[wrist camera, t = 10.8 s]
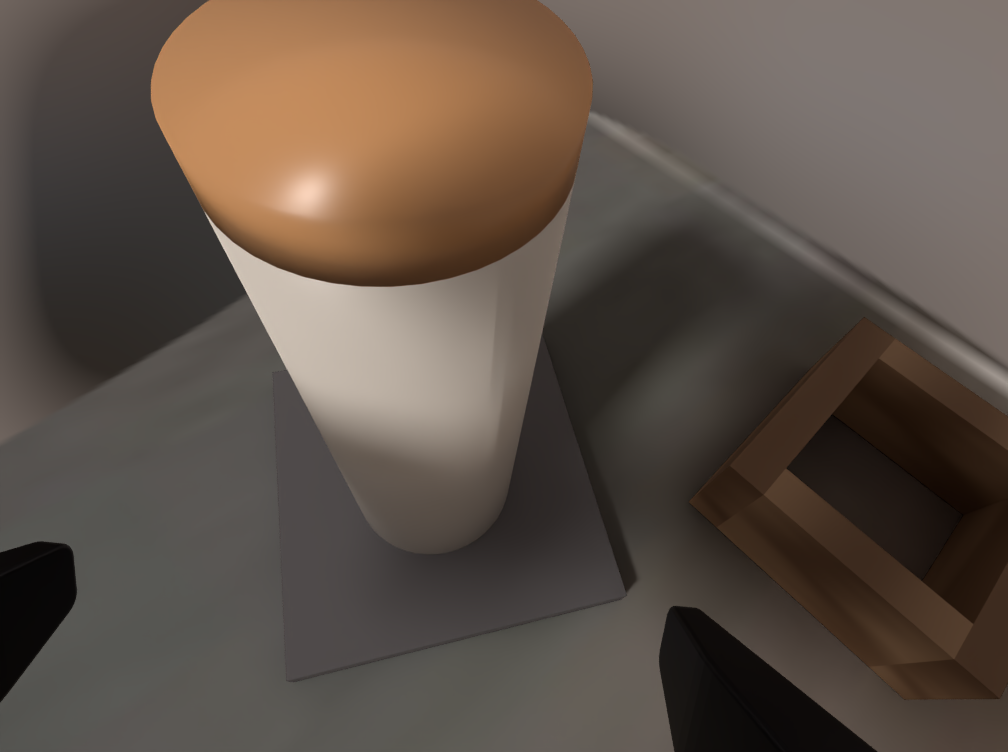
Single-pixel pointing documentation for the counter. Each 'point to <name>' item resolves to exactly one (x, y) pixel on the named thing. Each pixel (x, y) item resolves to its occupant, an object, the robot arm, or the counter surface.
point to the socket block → (852, 554)
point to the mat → (433, 577)
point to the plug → (390, 223)
